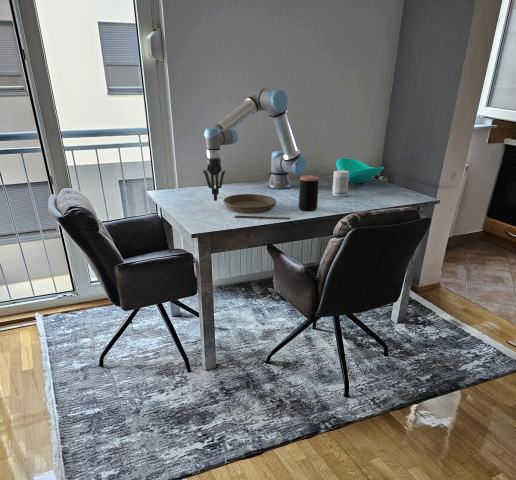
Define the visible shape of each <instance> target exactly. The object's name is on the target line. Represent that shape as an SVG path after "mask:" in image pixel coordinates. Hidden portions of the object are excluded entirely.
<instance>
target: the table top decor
mask: <svg viewBox="0 0 516 480" xmlns="http://www.w3.org/2000/svg"><path fill="white" fill-rule="evenodd" d="M335 164H336V170H345V171H348V172H349V178H348V182H350V183H352V184H364V183H366V182H368V181H369V180H371V179H373V178H374V177H376V176H377V175H378V174H380V173H381V172H382V171H383V170H384V166H381V167H373V166H369V165H367V164H366V163H365V162H363V161H360V160H358V159H354V158H349V157H347V158H346V157H343V158H338V159H337V160H336V162H335Z"/></svg>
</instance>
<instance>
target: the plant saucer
mask: <svg viewBox="0 0 516 480" xmlns="http://www.w3.org/2000/svg"><path fill="white" fill-rule="evenodd" d="M223 204H224V206H226V207H227V209H228V210H229V211H232V212H235V213H239V214H261V213H266V212H269V211H271V210H272V209H273V208H274V207H275V205H276V204H277V199H276V198H274V197H272V196H270V195H265V194H256V193H242V194H241V193H239V194H234V195H229V196H227V197H225V198H223Z"/></svg>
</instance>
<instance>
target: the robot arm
mask: <svg viewBox="0 0 516 480" xmlns="http://www.w3.org/2000/svg"><path fill="white" fill-rule="evenodd" d="M289 103H290V99H289V96H288V94H287V92H285V90H283V89H280V88H266V87H265V88H260V89H257V91H256V90H255V92H253V93H252V94H250V95H249V96H247V97H246V98H245V100H244V102H243V103H241V104H239V106H238V107H237V108H235V109H234V110H233V111H231V112H230V113H228V115H226V116H225V117H224V118H222V119H221V120H220V121H218V123H216V124H215V125H214V126H210V127H207V128H205V130H204V132H203V133H204V134H203V135H204V139H205V142H206V157H207V158H206V162H207V166H206V169H204V170H203V172H202V173H203V174H204V176H205V180H206V183H207V186H208V188H209V189H211V195H213V201H214V202H216V201H218V195H219V193H220V189H221V188H222V187H223V182H224V176H225V174H226V170H224V169H223V168H222V160H221V147H222V146H228V145H235V144H237V143H238V140H239V133H238V132H237V130H235V128H236V127H237V126H239V125H240V124H241V123H242V122H243V121H245V120H246V119H247V118H248V117H250V116H251V115H254V114H257V113H258V112H260V111H266V112H267V115H268V117H269V119H272V121H273V124H274V127H275V131H276V133H277V136H278V139H279V142H280V146H281V149H282V150H275V151H272V152H271V158H270V159H271V160H270V161H271V165H270V170H271V171H270V173H268V175H270V176H269V177H270V178H269V180H268V184H267V185H268V188H271V189H274V190H286V189H290V188H291V185H292V184H291V180H290V176H289V174H291V175H297V176H298V175H299V176H300V175H302V174H303V173H304V172H305V170H306V169H307V164H308V160H307V158H306V157H305V156H304V155H302V152H301V150H300V149H299V148H297V145H296V141H295V138H294V135H293V132H292V128H291V125H290V122H289V118H288V115H287V112H288V109H289ZM220 174H221V175H220ZM219 175H220V180H219Z"/></svg>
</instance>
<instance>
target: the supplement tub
mask: <svg viewBox="0 0 516 480" xmlns="http://www.w3.org/2000/svg"><path fill="white" fill-rule="evenodd" d="M332 176H333V177H332V191H331V194H332V196H334V197H339V198H342V197H343V198H344V197H346V196H347V195H348V188H349V181H348V178H349V172H348V171H345V170H338V169H336V170H333V175H332Z"/></svg>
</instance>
